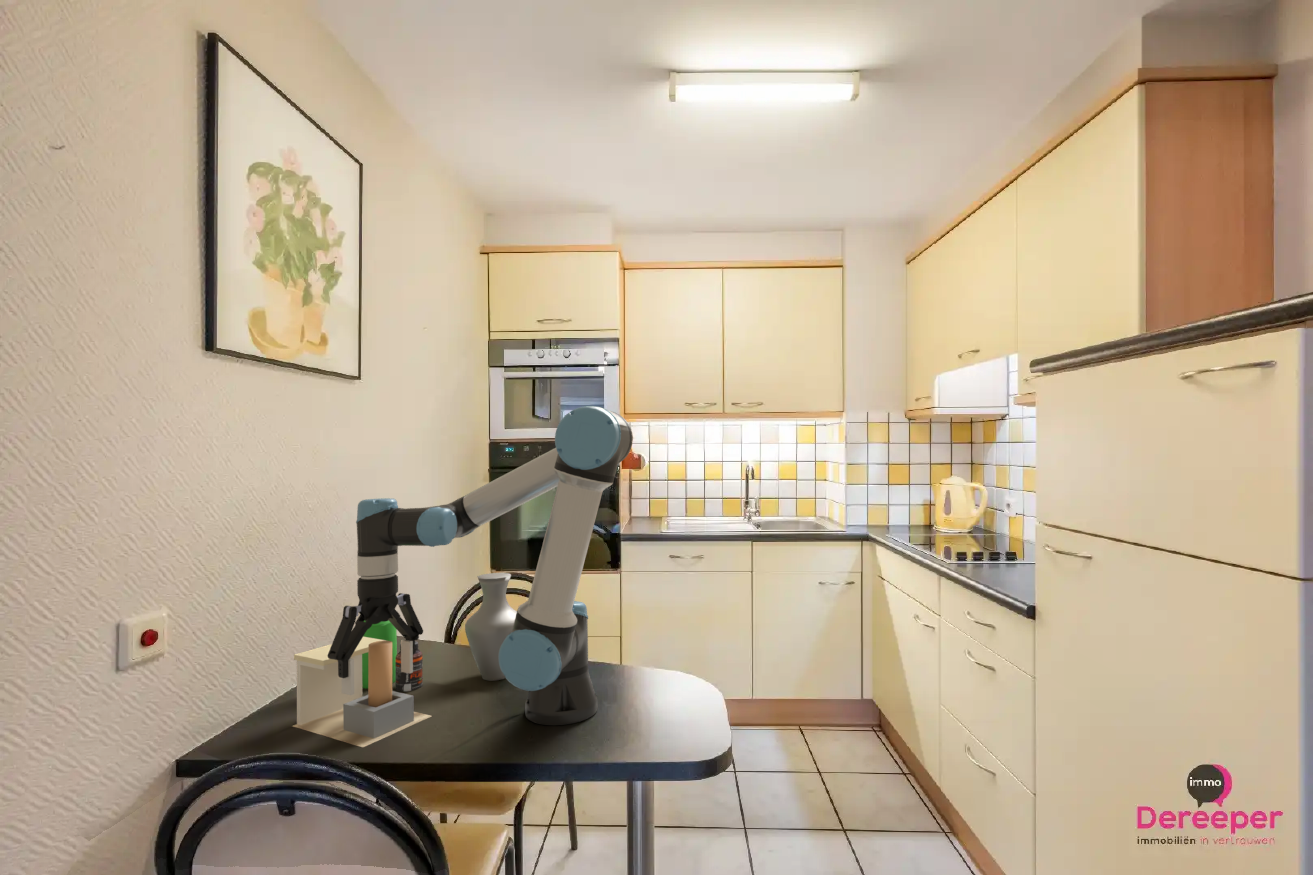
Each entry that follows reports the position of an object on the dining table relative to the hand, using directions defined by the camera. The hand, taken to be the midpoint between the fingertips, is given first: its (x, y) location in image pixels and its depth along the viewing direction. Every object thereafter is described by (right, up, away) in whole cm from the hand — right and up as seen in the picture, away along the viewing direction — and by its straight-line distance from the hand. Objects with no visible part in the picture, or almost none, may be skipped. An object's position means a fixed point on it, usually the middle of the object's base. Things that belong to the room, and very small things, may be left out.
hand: (378, 682), depth 128 cm
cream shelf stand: (-9, -9, +5) cm, 14 cm away
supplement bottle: (-2, -11, +22) cm, 24 cm away
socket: (0, -8, 0) cm, 8 cm away
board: (-4, -10, +2) cm, 11 cm away
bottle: (-11, -11, +26) cm, 30 cm away
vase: (+16, -11, +31) cm, 36 cm away
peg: (0, -8, 0) cm, 8 cm away
